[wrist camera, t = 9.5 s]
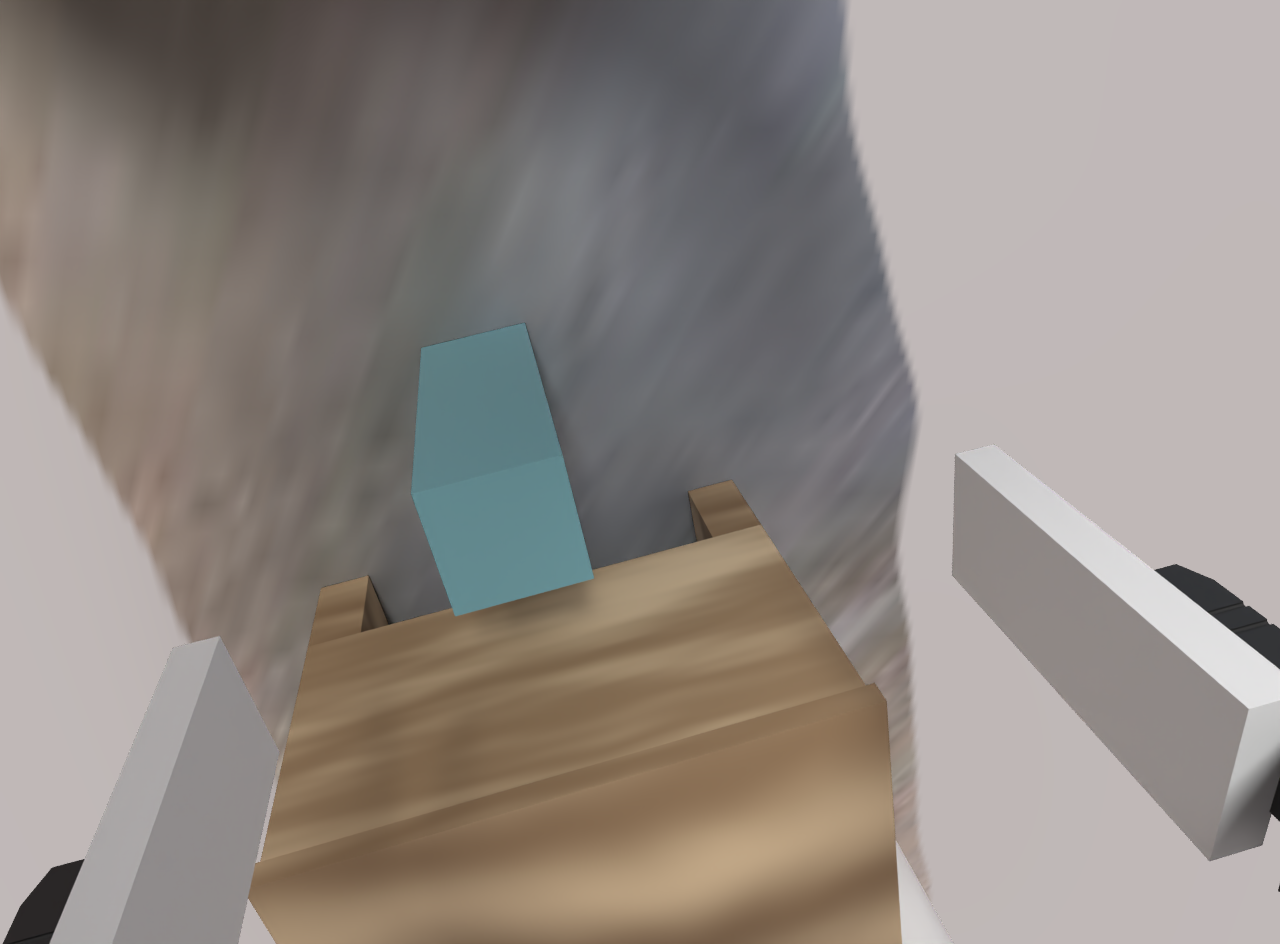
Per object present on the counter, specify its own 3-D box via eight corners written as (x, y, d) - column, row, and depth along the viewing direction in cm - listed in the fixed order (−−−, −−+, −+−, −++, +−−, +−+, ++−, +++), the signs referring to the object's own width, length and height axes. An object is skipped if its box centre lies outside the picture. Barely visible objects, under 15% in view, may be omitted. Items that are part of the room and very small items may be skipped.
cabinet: (314, 585, 36) (242, 889, 23) (735, 474, 38) (886, 701, 25) (418, 818, 43) (407, 1155, 30) (771, 716, 45) (905, 992, 32)
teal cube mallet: (421, 347, 33) (410, 494, 22) (524, 322, 33) (562, 455, 23) (572, 815, 45) (611, 1051, 35) (646, 792, 46) (707, 1020, 35)
